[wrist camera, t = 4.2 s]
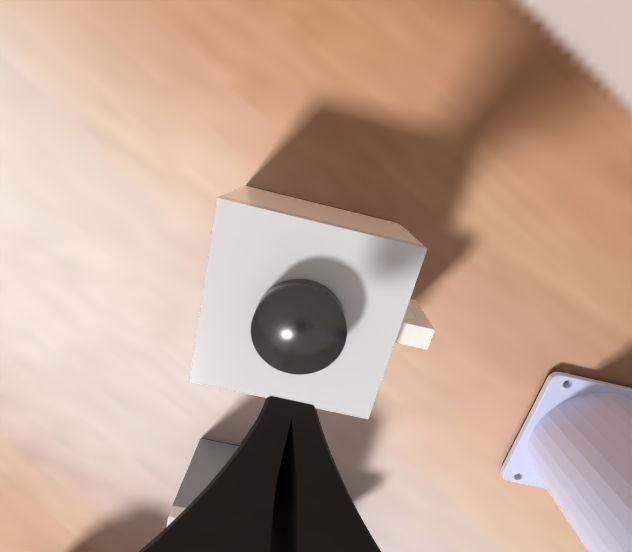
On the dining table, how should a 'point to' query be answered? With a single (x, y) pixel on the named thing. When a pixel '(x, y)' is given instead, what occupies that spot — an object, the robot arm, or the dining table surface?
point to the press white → (313, 264)
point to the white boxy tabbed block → (201, 473)
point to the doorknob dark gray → (299, 327)
